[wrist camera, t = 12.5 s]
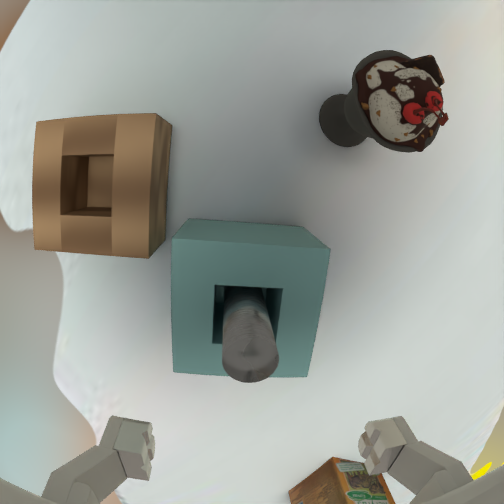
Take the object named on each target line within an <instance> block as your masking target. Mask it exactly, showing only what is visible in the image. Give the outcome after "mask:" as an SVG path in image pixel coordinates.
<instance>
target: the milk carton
mask: <svg viewBox="0 0 504 504" xmlns="http://www.w3.org/2000/svg"><path fill="white" fill-rule="evenodd" d="M289 496H290V501H291V504H395V502H394V499H393V497H392V495H391V493H390V491H389V489H388V486H387V484H386V482H385V480H384V478H383V476H382V473H379V474H374V475H369V474H368V472H367V469H366V467H365V465H364V463H360V462H355V461H350V460H345V459H340V458H335V457H332V458H330V459H329V460H328V461H327V462H326V463H324V464H323V465H322V466H321V467H320V468H318V469H317V470H316V471H315V472H313V473H312V474H311V475H309V476H308V477H307V478H306V479H304V480H303V481H302V482H300V483H299V484H298V485H296V486H295V487H294V488H292V489H291V490H289Z"/></svg>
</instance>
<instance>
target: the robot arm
mask: <svg viewBox="0 0 504 504" xmlns="http://www.w3.org/2000/svg"><path fill="white" fill-rule="evenodd" d="M152 429H153V428H152V423H150V422H144V421H139V420H133V419H128V418H122V417H117V416H111V417H110V418H109V421H108V423H107V426H106V428H105V431H104V434H103V436H102V439H101V441H100V444H99V446H96V445H95V446H93V447H92V448H91V449H89V450H87V451H86V452H84V453H82V454H81V455H79V456H78V457H76V458H74V459H73V460H71V461H70V462H68V463H66V464H65V465H63V466H61V467H60V468H58V469H56V470H55V471H53V472H52V473H51V475H50V477H49V480H48V482H47V484H46V487H45V489H44V491H43V494H42V496H41V497H40V496H38V495H35V494H33V493H31V492H28V491H26V490H24V489H22V488H19V487H17V486H15V485H13V484H11V483H9V482H7V481H5V480H3V479H1V478H0V504H100V502H101V501H103V499H105V498H106V497H107V496H108V495H109V494H111V492H113V491H114V490H115V489H116V488H117V487H118V486H119V485H120V484H122V483H123V482H124V481H125V480H126V479H127V477H128V478H134V479H141V480H148V481H149V478H150V473H151V468H152V467H151V463H150V461H151V460H152V459H153V458H154V453H155V439H154V436H153V435H152ZM365 431H366V432H364V433H363V434H362V435H361V436H360V439H359V443H358V448H359V452H360V455H361V456H362V457H363V458H365V459H366V460H365V463H364V465H365V467H366V469H367V472H368V474H369V475H374V474H379V473H384V472H387V473H388V474H389V475H391V476H392V477H393V478H395V479H396V480H397V481H398V482H400V483H401V484H402V485H404V486H405V487H406V488H407V489H409V490H410V491H411V492H413V493H414V494H415V495H416V496H415V498H414V499H413V500H412V501H411V502H410V504H504V464H503V465H502V466H500V467H498V468H496V469H495V470H493V471H491V472H489V473H487V474H485V475H483V476H482V477H480V478H478V479H476V480H473V479H472V477H471V476H470V474H469V473H468V471H467V470H466V468H465V467H464V465H463V463H462V462H461V461H459V460H457V459H455V458H453V457H451V456H449V455H447V454H445V453H443V452H441V451H439V450H437V449H435V448H433V447H432V446H430V445H428V444H426V443H424V442H422V441H419V442H418V440H417V439H416V437H415V435H414V434H413V432H412V430H411V429H410V427H409V426H408V424H407V422H406V421H405V419H404V418H403V417H402V416H399V417H393V418H387V419H381V420H375V421H369V422H368V423H367V424H366V426H365Z"/></svg>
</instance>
